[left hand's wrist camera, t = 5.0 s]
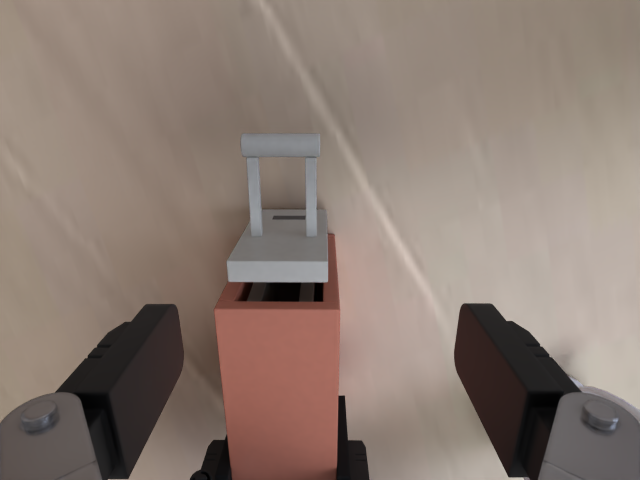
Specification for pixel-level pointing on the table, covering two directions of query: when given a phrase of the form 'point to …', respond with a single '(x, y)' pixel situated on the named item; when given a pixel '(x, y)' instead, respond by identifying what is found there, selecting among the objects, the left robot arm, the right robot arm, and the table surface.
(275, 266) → the drawer
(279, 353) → the cabinet
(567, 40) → the table surface
